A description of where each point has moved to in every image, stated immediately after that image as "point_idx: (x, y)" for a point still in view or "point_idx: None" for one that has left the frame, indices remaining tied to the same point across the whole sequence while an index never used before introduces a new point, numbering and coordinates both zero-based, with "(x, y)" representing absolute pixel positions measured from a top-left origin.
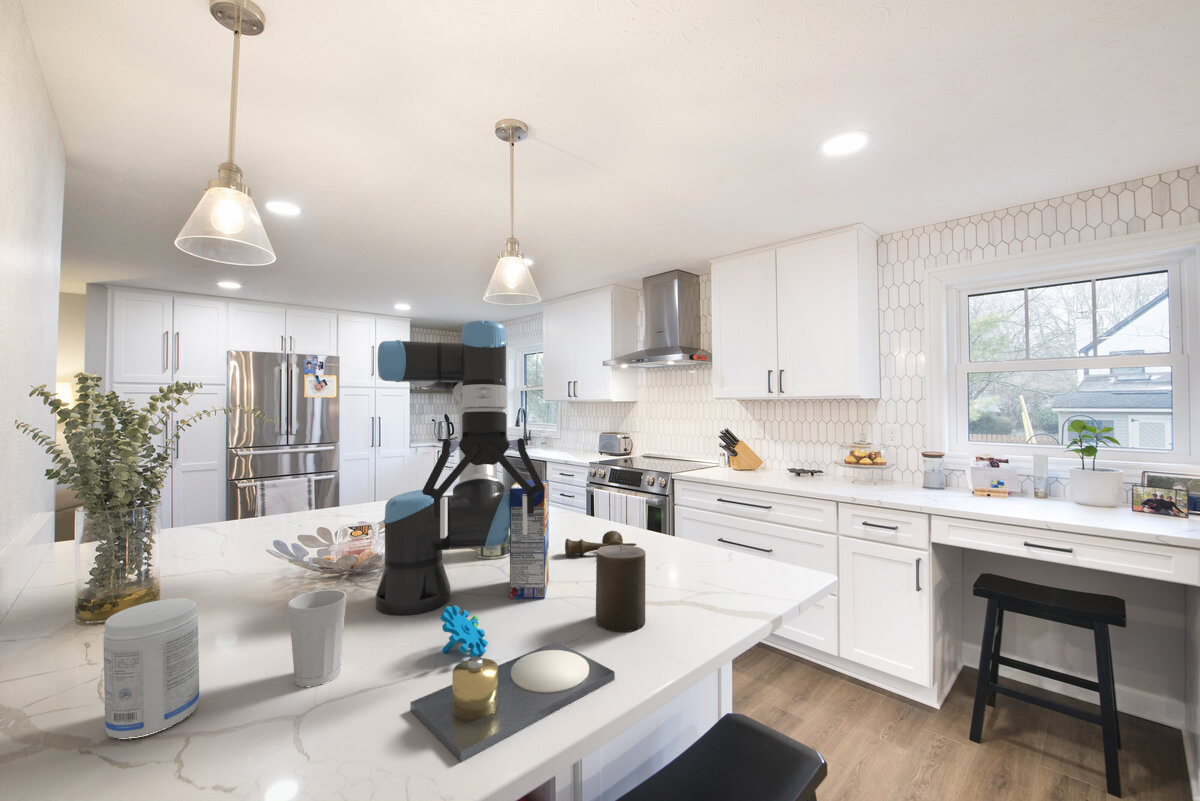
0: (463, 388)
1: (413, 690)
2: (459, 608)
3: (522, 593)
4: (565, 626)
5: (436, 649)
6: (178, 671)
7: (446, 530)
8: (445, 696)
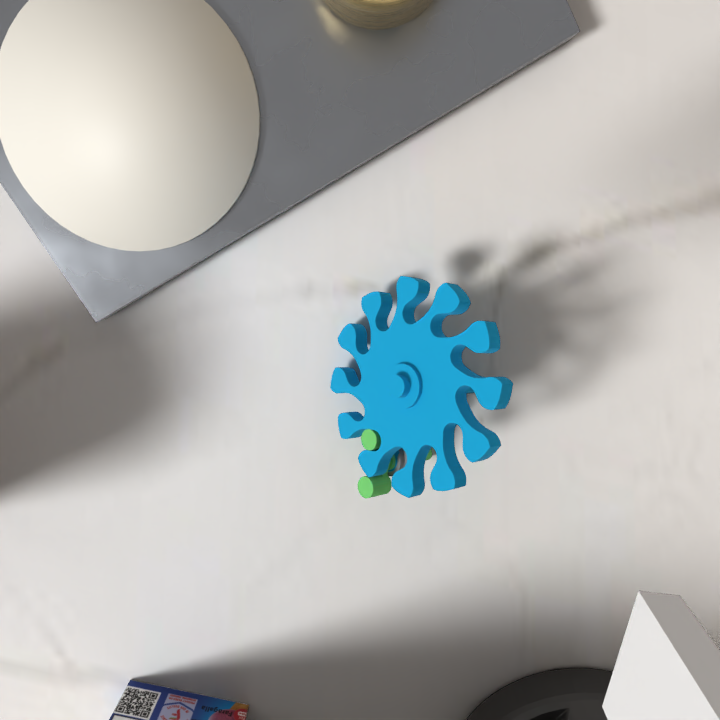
0: None
1: (563, 162)
2: (432, 484)
3: (200, 712)
4: (70, 461)
5: None
6: None
7: (637, 708)
8: (471, 35)
